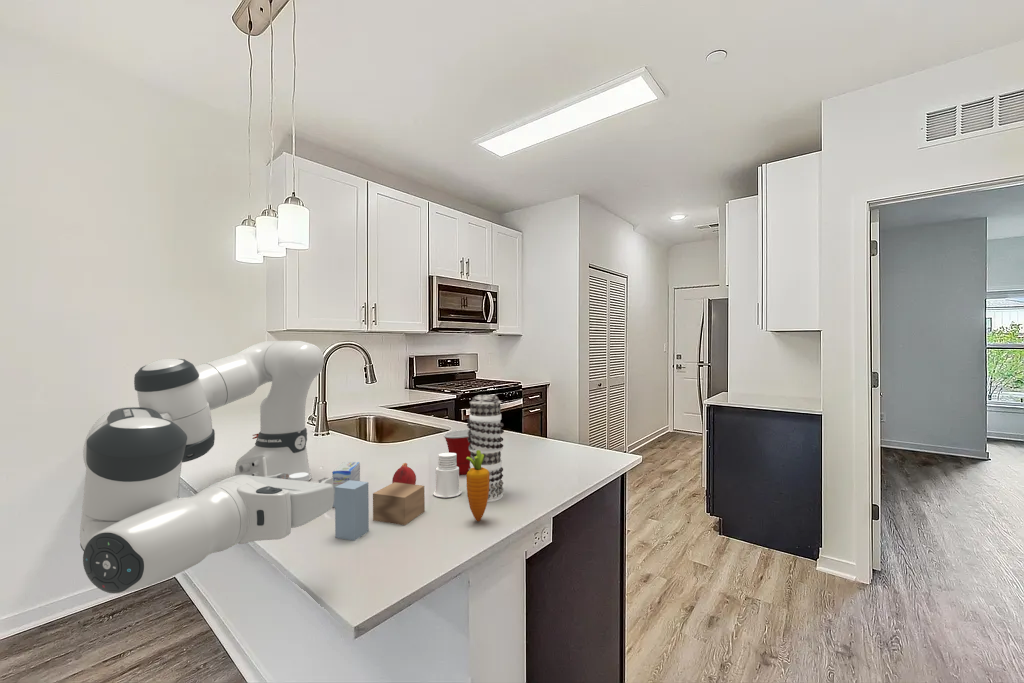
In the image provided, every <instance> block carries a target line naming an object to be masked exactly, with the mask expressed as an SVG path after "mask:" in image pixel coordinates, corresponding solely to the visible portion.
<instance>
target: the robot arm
mask: <svg viewBox="0 0 1024 683" xmlns="http://www.w3.org/2000/svg"><path fill="white" fill-rule="evenodd" d="M324 363H325V357H324V353H323V351H322V350H321V348H319V346H317V345H316V344H313V343H311V342H307V341H303V340H265V341H260V342H258V343H254V344H251V345H250V346H248V347H246V348H245V349H243V350H241V351H238V352H236V353H233V354H230V355H228V356H224V357H221V358H217V359H215V360H211V361H208V362H204V363H201V364H198V365H194V364H193V363H192V362H190V361H189V360H186V359H184V358H163V359H162V358H161V359H158V360H155V361H152V362H150V363H148V364H145V365H143V366H142V367H140V368H139V369H138V370H137V371H136V373H134V376H133V377H134V380H133V384H134V386H133V387H134V390H135V391H136V392H137V402H138V407H137V406H135V407H134V406H123V407H119V408H115V409H112V410H110V411H108V412H106V413H105V414H104V415H102V416H101V417H100V418H98V420H96V422H94V424H93V425H92V426H91V427H90V430H89V431H88V432H87V436H86V438H85V441H84V446H83V449H82V450H83V452H82V453H83V454H82V456H83V458H82V459H83V463H84V467H85V468H86V469H85V477H84V488H83V496H82V497H83V498H82V506H81V507H82V508H81V517H80V525H79V526H80V529H79V541H80V544H79V545H80V548H81V550H82V551H83V555H82V564H83V569H84V572H85V575H86V576H87V578H88V579H89V581H90V582H91V583H92V585H94V586H95V587H96V588H97V589H99V590H101V591H103V592H104V593H105V592H106V593H107V594H115V595H117V594H118V595H119V594H124V593H129V592H134V591H136V590H140V589H144V588H145V587H146V588H147V587H149V586H152V585H154V584H157V583H160V582H162V581H165V580H167V579H169V578H172V577H173V576H176V575H178V574H180V573H182V572H184V571H186V570H188V569H190V568H192V567H194V566H196V565H198V564H200V563H201V562H202V561H203V560H205V559H206V558H207V557H208V556H210V555H212V554H215V553H221V552H224V551H225V550H228V549H230V548H232V547H234V546H236V545H245V544H248V543H252V542H259V541H260V542H261V541H270V540H272V541H274V540H276V541H278V540H281V539H282V540H283V539H284V538H286V537H288V536H289V535H291V532H292V529H294V528H299V527H302V526H304V525H306V524H308V523H310V522H312V521H314V520H316V519H317V518H319V517H321V516H322V515H324V514H326V513H328V512H329V511H330V510H331V509H332V508H333V503H334V491H333V479H332V478H331V477H323V478H321V479H318V482H316V481H310V480H312V479H313V475H312V472H311V468H310V463H309V458H308V457H309V456H308V449H307V441H308V429H307V427H306V403H307V397H308V392H309V391H310V387H311V385H312V383H313V381H314V379H316V378H317V376H318V375H319V374H320V373H321V372H322V370H323V368H324ZM270 382H271V387H270V390H269V392H268V394H267V397H265V398H264V399H263V400H262V401H261V403H260V406H259V407H260V408H259V410H260V411H259V412H260V415H259V416H260V420H259V421H260V430H259V432H258V433H255V434H252V436H253V437H252V439H253V440H254V439H256V441H255V443H254V446H253V447H252V448H251V449H249V450H248V451H247V452H246V453H244V454H243V455H242V456H240V457H239V458H238V460H237V461H236V463H235V467H234V475H232V476H230V477H227V478H225V479H222V480H220V481H217V482H215V483H213V484H210V485H209V486H207V487H206V488H203V489H201V490H200V491H197V493H195V494H194V495H191V496H183V497H178V496H179V490H180V482H181V481H180V480H181V473H182V464H183V463H187V462H191V461H194V460H196V459H199V458H201V457H202V456H205V455H206V454H208V453H209V452H210V450H211V449H212V448H213V447H214V445H215V440H216V437H215V435H216V433H215V429H214V428H213V422H212V421H213V420H212V419H213V418H212V413H211V411H212V410H216V409H218V408H221V407H224V406H225V405H226V406H227V405H228V404H229V405H230V404H231V403H234V402H237V401H238V400H241V399H244V398H246V397H249V396H251V395H253V394H255V392H256V390H258V389H259V388H260V387H261V386H263V385H265V384H267V383H270ZM303 472H304V473H308V474H309V480H308V481H299V480H289V475H291V474H295V473H303Z"/></svg>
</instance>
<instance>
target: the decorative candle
mask: <svg viewBox="0 0 1024 683" xmlns="http://www.w3.org/2000/svg"><path fill="white" fill-rule="evenodd" d="M502 402H503V401H501V400H500V399H499V397H498V396H497V395H495V394H478V395H475V396H473V398H472V399H471V401H469V405H470V408H469V410H470V411H469V412H470V413H469V417H468V418H467V419H466V420H467V423H466V427H467V429H470V430H469V431H468V436H469V438H468V442H469V443H471V444H470V445H469V446H468V448H469V451H471V458H472V459H473V461H474V460H475V458H474V457H475V456H477V453H476V451H477V450H480V451H481V454H483V455H484V459H483V462H482V464H481V467H483V468H485V469H487V470H488V471H489V494H488V501H487V503H492V502H497V501H500V500H501V499H502V498H503V497H504V494H503V491H504V488H503V485H504V481H503V480H502V479H503V477H504V474H503V471H504V468H503V464H502V463H503V462H502V461H503V460H502V458H501V456H502V453H501V451H503V447H504V444H502V442H503V441H504V438H503V437H502V436H501V435H502V434H503V433H505V430H504V429H502V428H503V427H505V426H504V423H503V422H501V420H502V412H501V404H502ZM471 468H474V466H473V464H472V463H471V462H470V468H469V470H470V469H471Z"/></svg>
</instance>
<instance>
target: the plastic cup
mask: <svg viewBox="0 0 1024 683" xmlns="http://www.w3.org/2000/svg"><path fill="white" fill-rule="evenodd" d="M469 430H470V429H469V428H465V429H464V428H462V429H457V430H452V431H447V432H445V433H443V434H442V435H443V438H444V439H445V442H446V444H447V448H448V449H447V450H448V453H456V454H457V458H456V459H457V460H456V461H457V465H456V466H458V467H459V476H460V475H461V476H463V475H467V472H468V471H469V468H470V461H469V460H467V459H466V458H467V457H470V458H471V451H469V448H468V446H469V445H470V444H471V443H469V442H468V438H469V436H468V431H469Z"/></svg>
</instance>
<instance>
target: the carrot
mask: <svg viewBox="0 0 1024 683" xmlns="http://www.w3.org/2000/svg"><path fill="white" fill-rule="evenodd" d="M476 453H477V456H475V457H474V458H475V460H474V461H473V459H472V458H470V457H467V458H466V459H467V460H469V461H470V462H471V463H472V464H473V466H474V468H471V469H470V470H469V471H468V472H467V474H466V477H465V478H466V494H467V499H468V504H469V509H470V511H471V514H472V516H473V517H474V519H475V521H476V522H477V523H479V522H480V521H482V518H483V516H484V514H485V511H486V509H487V505H488V502H487V501H488V494H489V471H488V470H487V469H485V468H483V467H481V464H482V462H483V459H484V455H483V454H481V451H480V450H477V451H476Z"/></svg>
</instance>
